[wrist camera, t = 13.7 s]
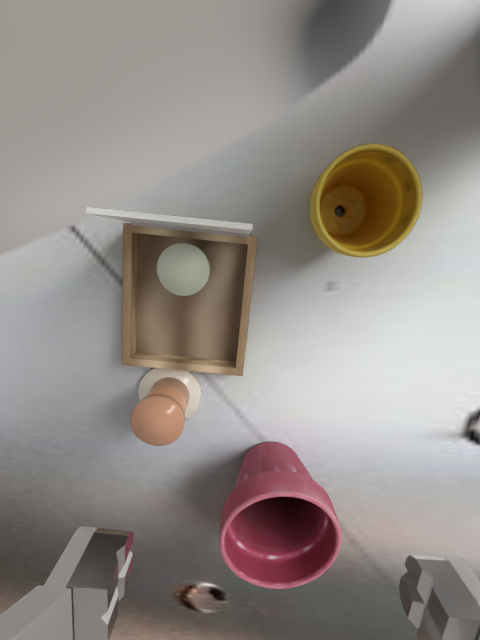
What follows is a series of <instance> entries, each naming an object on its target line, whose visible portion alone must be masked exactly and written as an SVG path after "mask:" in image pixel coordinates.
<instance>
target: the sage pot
mask: <svg viewBox="0 0 480 640" xmlns="http://www.w3.org/2000/svg"><path fill="white" fill-rule="evenodd" d="M210 270H211V263H210V260H209V258H208V256H207V255H206V253H205V252H204V251H202V250H201V249H199V248H198V247H196V246H194V245H191V244H187V243H178V244H174V245H171V246H170V247H168V248H167V249H165V250H164V251H163V252H162V254H161V255H160V257H159V260H158V263H157V274H158V278H159V280H160V282H161V284H162V285H163V286H164V287H165V288H166V289H167V290H168V291H169V292H171V293H173V294H176V295H179V296H189V295H193V294H195V293H197V292H198V291H200V290H201V289H202V288H203V287H204V286H205V284H206V283H207V281H208V279H209V275H210Z"/></svg>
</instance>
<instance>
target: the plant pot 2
mask: <svg viewBox="0 0 480 640" xmlns="http://www.w3.org/2000/svg"><path fill="white" fill-rule="evenodd" d="M421 205H422V186H421V181H420V178H419V175H418V173H417V171H416V169H415V167H414V165H413V164H412V163H411V161H410V160H409V159H408V158H407V157H406V156H405V155H404V154H402V153H401V152H400V151H398V150H396V149H394V148H392V147H390V146H387V145H382V144H364V145H359V146H356V147H354V148H351V149H349V150H347V151H345V152H344V153H342V154H341V155H339V156H338V157H337V158H336V159H334V160H333V161H332V162H331V163H330V164H329V165H328V166H327V168H326V169H325V170H324V171H323V173H322V174H321V175H320V177H319V178H318V180H317V182H316V184H315V186H314V188H313V191H312V194H311V199H310V218H311V223H312V226H313V228H314V231H315V232H316V234H317V236H318V237H319V239H320V240H321V241H322V242H323V243H324V244H325V245H326V246H327V247H329V248H330V249H332V250H333V251H335V252H338V253H340V254H344V255H348V256H354V257H372V256H376V255H380V254H383V253H385V252H387V251H389V250H391V249H393V248H394V247H396V246H397V245H398V244H399V243H401V242H402V241H403V240H404V239H405V238H406V237H407V235H408V234H409V233H410V231H411V230H412V228H413V227H414V225H415V223H416V221H417V219H418V216H419V213H420V210H421ZM338 206H341V207H343V208H344V214H343V215H342V216H341V217H338V216H337V215H336V214H335V208H336V207H338Z"/></svg>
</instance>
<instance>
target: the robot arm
mask: <svg viewBox="0 0 480 640" xmlns="http://www.w3.org/2000/svg"><path fill="white" fill-rule="evenodd" d="M132 543H133V532H127V531H119V530H110V529H101V528H91V527H80V528H79V529H78V530H77V531H76V532H75V533H74V535H73V537H72V538H71V540H70V542H69V544H68V545H67V547H66V549H65V550H64V552H63V554H62V556H61V557H60V559H59V561H58V562H57V564H56V566H55V568H54V569H53V571H52V573H51V574H50V576H49V578H48V580H47V581H46V583H45V585H44V586H37V587H36V588H34V589H33V590H32V591H31V592H29V593H28V594H27V595H25V596H24V597H23V598H22V599H20V600H19V601H18V602H16V603H15V604H14V605H13V606H11V607H10V608H9V609H7V610H6V611H5V612H3V613H2V614H1V615H0V640H109V639H110V636H111V633H112V630H113V627H114V624H115V621H116V618H117V615H118V601H119V600H120V599H121V598H122V597H123V596H124V595H125V592H126V588H127V585H128V582H129V578H130V573H131V568H132V561H133V554H132V552H131V551H130V549H131V546H132ZM405 566H406V568H407V570H408V572H406V573H405V574H404V575H403V576H401V580H400V585H399V589H400V598H401V602H402V605H403V608H404V611H405V613H406V615H407V618H408V619H409V620H410V621H411V622H412V623H413V624H414V625H415V626H416V627H417V628H418V630H417V640H480V581H479V580H478V578H477V577H476V575H475V574H474V573H473V571H472V570H471V568H470V567H469V566H468V564H467V563H466V562H465V561H463V560H462V559H454V558H442V557H432V556H417V555H410V556H408V557H407V559H406V562H405Z"/></svg>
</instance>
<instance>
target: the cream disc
mask: <svg viewBox="0 0 480 640" xmlns="http://www.w3.org/2000/svg"><path fill="white" fill-rule="evenodd" d="M166 377H172V378H176V379H179V380H180V381H182V382H183V383H184V384H185V385H186V386H187V388H188V390H189V395H190V398H189V402H188V405H187V408H186V411H185V420H187V419H189V418H190V417H191V416H192V415H194V413H195V412H196V411H197V409H198V407H199V405H200V401H201V396H202V391H201V386H200V383H199V381H198V380H197V378H196V377H195V375H194V374H193V373H192V372H191V371H184V370H174V369H163V368H152V369H151V370H150V371H148V372H147V373H146V375H145V376H144V377H143V379H142V380H141V382H140V385H139V388H138V398H139V401H141V400H142V399H143V398H144V397H146V396H147V394H148V393H149V391H150V389H151V388H152V386H153V385H154V383H155V382H157V381H158V380H160V379H162V378H166Z"/></svg>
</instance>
